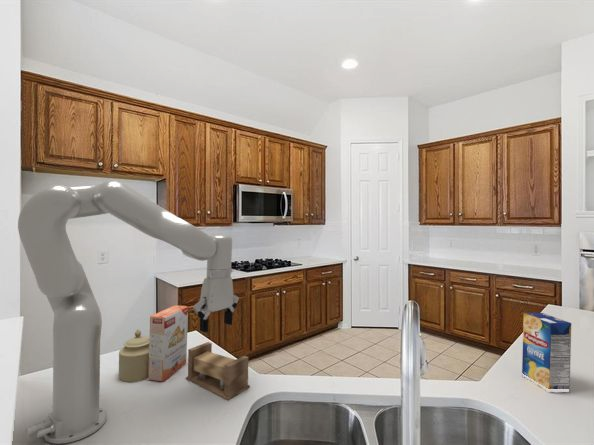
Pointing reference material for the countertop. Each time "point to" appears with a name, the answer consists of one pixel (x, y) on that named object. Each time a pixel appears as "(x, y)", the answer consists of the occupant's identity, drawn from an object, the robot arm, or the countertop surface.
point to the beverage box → (546, 350)
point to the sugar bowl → (134, 359)
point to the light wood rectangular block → (211, 364)
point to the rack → (233, 374)
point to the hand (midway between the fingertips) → (216, 327)
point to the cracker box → (167, 342)
